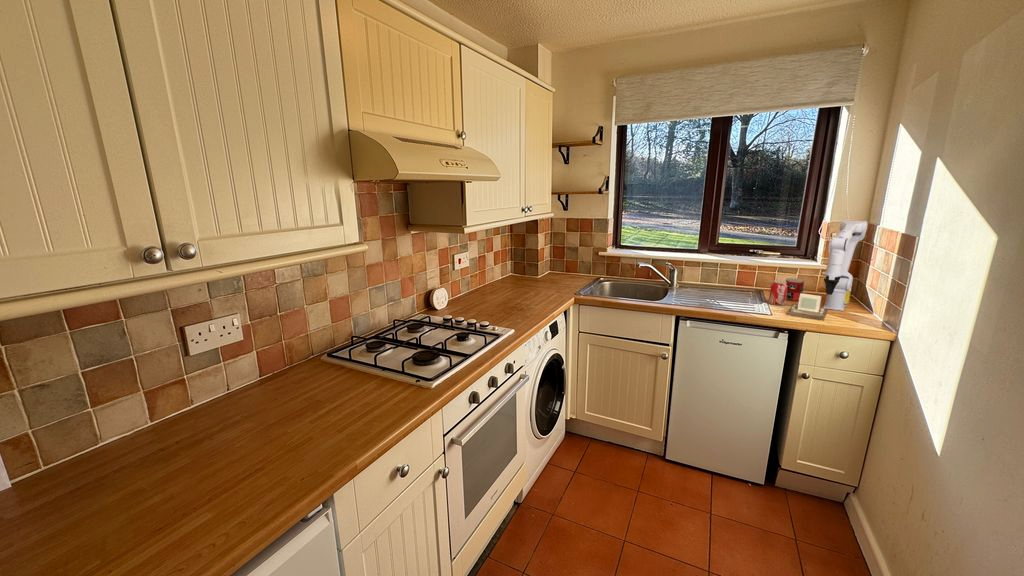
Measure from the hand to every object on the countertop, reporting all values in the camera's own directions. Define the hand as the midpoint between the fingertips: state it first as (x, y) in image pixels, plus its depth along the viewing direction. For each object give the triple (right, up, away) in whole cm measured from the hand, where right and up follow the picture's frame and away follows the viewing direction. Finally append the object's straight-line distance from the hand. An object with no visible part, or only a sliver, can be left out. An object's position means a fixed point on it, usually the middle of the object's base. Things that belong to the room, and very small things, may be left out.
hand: (829, 292), depth 192 cm
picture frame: (-8, -9, +3) cm, 12 cm away
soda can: (-13, -6, +19) cm, 24 cm away
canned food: (+1, -4, +27) cm, 27 cm away
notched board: (-7, -10, +5) cm, 13 cm away
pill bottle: (+19, -6, +18) cm, 27 cm away
